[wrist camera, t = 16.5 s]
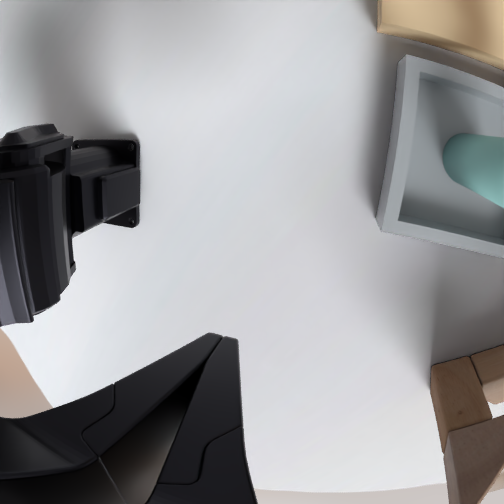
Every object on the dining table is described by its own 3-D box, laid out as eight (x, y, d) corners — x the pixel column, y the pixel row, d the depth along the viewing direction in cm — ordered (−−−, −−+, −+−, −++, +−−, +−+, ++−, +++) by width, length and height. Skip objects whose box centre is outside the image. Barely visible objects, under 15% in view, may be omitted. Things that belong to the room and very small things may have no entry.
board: (376, 34, 15) (381, 22, 13) (375, -49, 12) (378, -66, 10) (511, 76, 13) (530, 72, 11) (505, -7, 10) (520, -17, 8)
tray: (375, 219, 19) (381, 231, 17) (397, 62, 15) (406, 54, 13) (502, 248, 17) (517, 262, 15) (528, 109, 13) (548, 109, 11)
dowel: (438, 178, 16) (488, 206, 10) (446, 127, 15) (501, 130, 9) (480, 190, 16) (539, 222, 10) (489, 141, 15) (553, 153, 8)
